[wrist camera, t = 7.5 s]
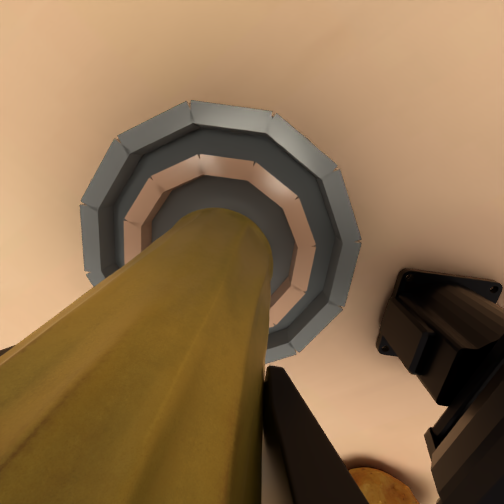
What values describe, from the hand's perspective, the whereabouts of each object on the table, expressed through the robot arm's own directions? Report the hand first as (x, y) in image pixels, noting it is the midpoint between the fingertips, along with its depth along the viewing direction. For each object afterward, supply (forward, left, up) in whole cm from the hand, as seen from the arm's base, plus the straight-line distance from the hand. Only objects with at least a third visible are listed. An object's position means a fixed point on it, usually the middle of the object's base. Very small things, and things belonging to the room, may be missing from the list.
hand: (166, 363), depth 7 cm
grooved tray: (0, 0, -11) cm, 11 cm away
